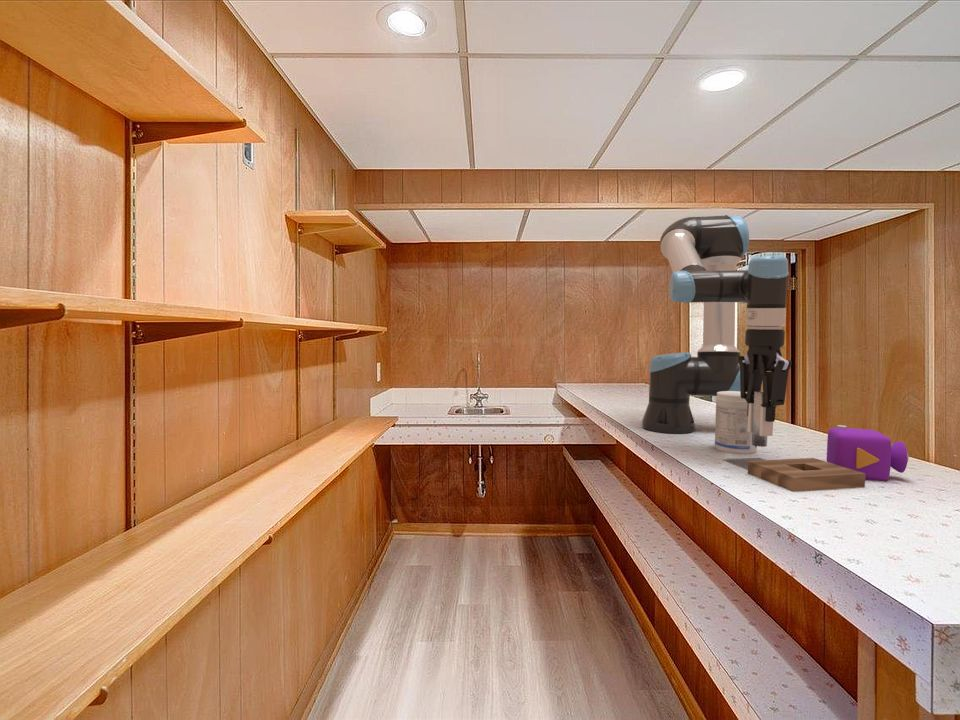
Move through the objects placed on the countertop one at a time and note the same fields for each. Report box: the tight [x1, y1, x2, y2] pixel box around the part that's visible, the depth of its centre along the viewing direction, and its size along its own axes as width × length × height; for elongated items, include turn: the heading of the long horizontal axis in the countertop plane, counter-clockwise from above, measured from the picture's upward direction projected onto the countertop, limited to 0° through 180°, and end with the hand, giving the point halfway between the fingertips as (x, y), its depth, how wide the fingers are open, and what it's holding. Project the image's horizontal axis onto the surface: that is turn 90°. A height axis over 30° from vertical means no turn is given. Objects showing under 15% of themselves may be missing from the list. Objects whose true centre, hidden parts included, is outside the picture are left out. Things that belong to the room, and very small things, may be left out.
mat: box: [721, 457, 766, 471], centre depth 112 cm, size 12×10×1 cm
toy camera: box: [826, 424, 910, 482], centre depth 106 cm, size 11×14×10 cm
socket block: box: [747, 457, 866, 493], centre depth 102 cm, size 12×16×3 cm
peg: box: [752, 390, 768, 448], centre depth 112 cm, size 3×3×12 cm
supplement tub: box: [714, 391, 758, 455], centre depth 127 cm, size 10×10×15 cm
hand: (759, 433), depth 113 cm, fingers closed on peg, 3 cm apart
